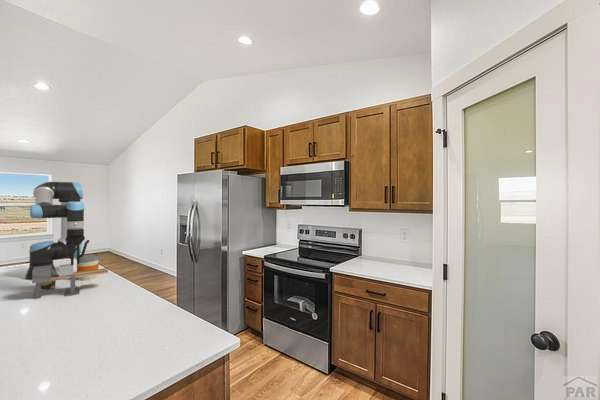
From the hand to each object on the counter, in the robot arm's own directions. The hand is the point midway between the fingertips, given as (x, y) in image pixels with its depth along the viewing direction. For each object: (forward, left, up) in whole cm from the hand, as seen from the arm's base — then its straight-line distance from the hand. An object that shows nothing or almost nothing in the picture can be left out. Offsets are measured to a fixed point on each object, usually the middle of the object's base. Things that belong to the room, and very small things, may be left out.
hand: (75, 269), depth 152 cm
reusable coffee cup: (-28, +6, -13) cm, 31 cm away
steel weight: (0, -4, -3) cm, 5 cm away
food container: (-18, -12, -13) cm, 25 cm away
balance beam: (0, -1, -4) cm, 4 cm away
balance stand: (0, -7, -13) cm, 14 cm away
